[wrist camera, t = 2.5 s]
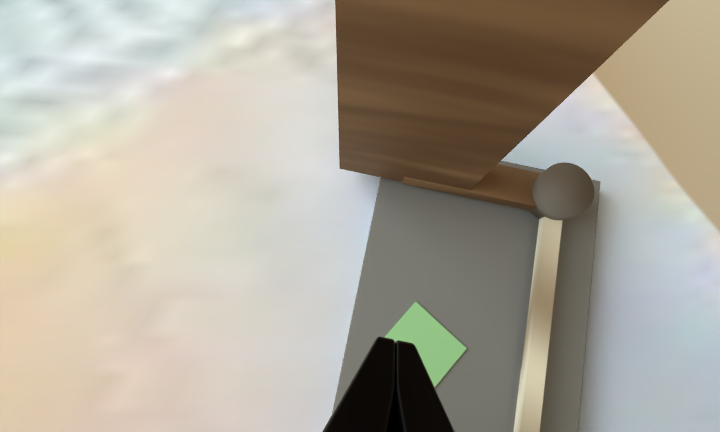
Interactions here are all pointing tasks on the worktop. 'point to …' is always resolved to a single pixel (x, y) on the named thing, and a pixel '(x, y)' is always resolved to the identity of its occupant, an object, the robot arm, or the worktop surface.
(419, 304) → the gray rectangular base plate
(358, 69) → the pull lever
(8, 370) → the worktop surface
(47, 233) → the worktop surface
